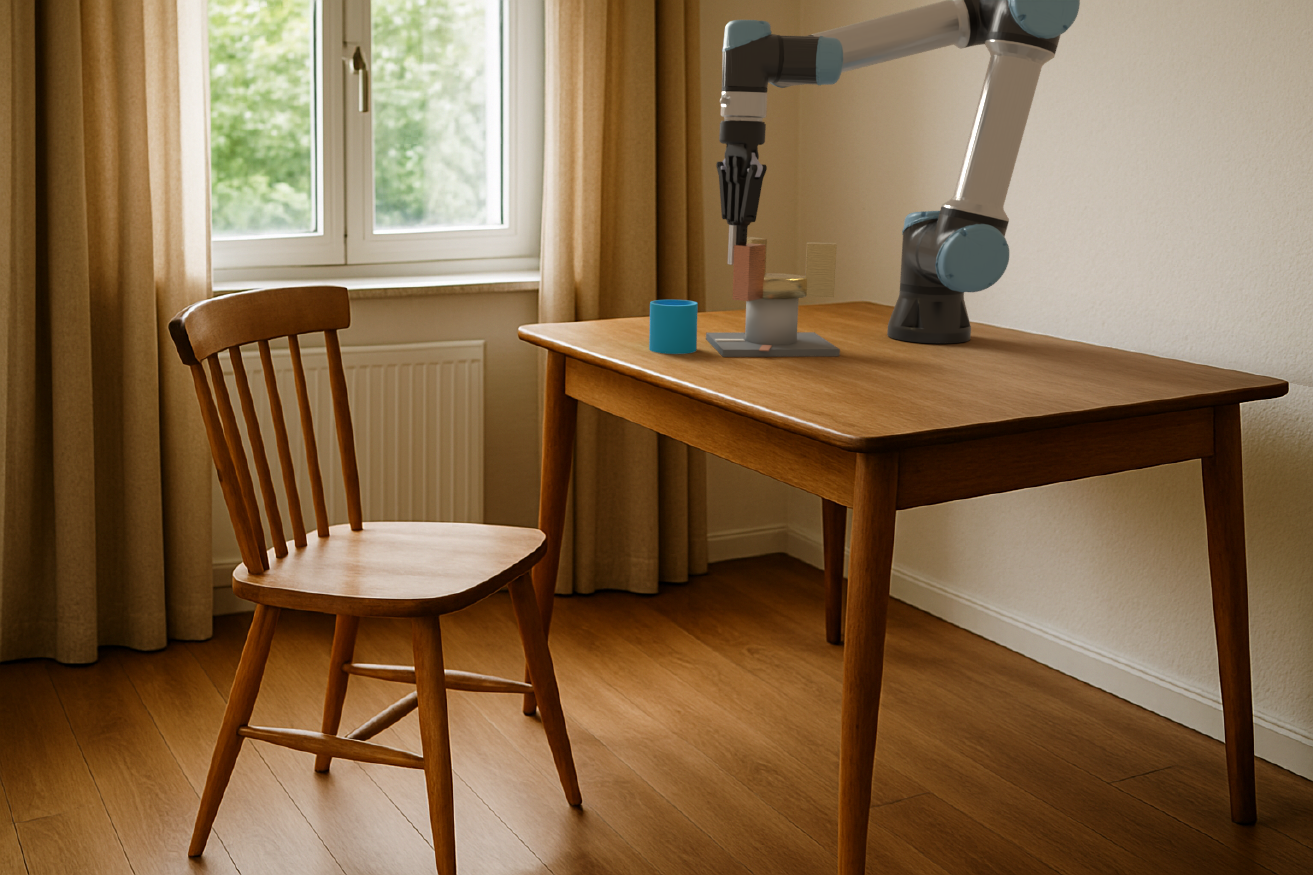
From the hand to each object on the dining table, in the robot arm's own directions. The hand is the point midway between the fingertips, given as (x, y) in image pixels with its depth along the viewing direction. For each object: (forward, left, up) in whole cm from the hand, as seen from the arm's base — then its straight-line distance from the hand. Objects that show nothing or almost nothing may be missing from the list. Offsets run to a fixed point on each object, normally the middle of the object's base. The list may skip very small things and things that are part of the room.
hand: (736, 264), depth 210 cm
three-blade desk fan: (-6, -3, -6) cm, 9 cm away
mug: (+11, -4, -15) cm, 19 cm away
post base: (-7, -4, -15) cm, 17 cm away
